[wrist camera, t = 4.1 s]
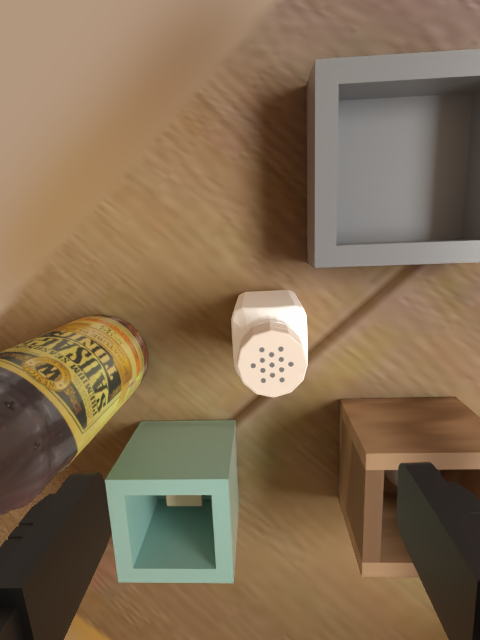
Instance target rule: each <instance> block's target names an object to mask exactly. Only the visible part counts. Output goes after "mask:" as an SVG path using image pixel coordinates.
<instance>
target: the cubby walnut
mask: <svg viewBox="0 0 480 640" xmlns="http://www.w3.org/2000/svg"><path fill="white" fill-rule="evenodd" d="M413 462H431V463H432V464H433V465H434V466H435V467H436V469H437V470H438V471H439V473H440V474H441V475H442V477H443V478H444V479H445V481H446V482H457V483H459V484H460V485H462V486H463V487H464V488H466V489H467V490H469V491H470V492H472V493H473V494H475V495H476V496H477V497H478V499H479V500H480V417H479V416H477V415H476V414H475V413H474V412H473V411H471V410H470V409H469V408H468V407H467V406H466V405H464V404H463V403H462V402H461V401H460V400H458V399H457V398H456V397H423V398H365V399H340V418H339V473H338V499H339V502H340V506H341V509H342V512H343V516H344V519H345V522H346V526H347V529H348V532H349V536H350V539H351V542H352V546H353V549H354V553H355V556H356V559H357V563H358V566H359V569H360V573H361V576H362V577H419V575H418V573H417V571H416V569H415V566H414V564H413V562H412V560H411V558H410V556H409V554H408V552H407V549H406V547H405V545H404V543H403V541H402V538H401V536H400V532H399V528H398V523H397V485H398V467H399V464H400V463H413Z"/></svg>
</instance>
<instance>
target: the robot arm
mask: <svg viewBox="0 0 480 640" xmlns="http://www.w3.org/2000/svg"><path fill="white" fill-rule="evenodd" d="M397 523H398V528H399V532H400V536H401V538H402V541H403V543H404V545H405V547H406V549H407V552H408V554H409V556H410V558H411V560H412V562H413V564H414V566H415V569H416V571H417V573H418V575H419V577H420V579H421V581H422V583H423V586H424V588H425V590H426V592H427V594H428V596H429V598H430V600H431V603H432V605H433V607H434V609H435V611H436V613H437V615H438V617H439V620H440V622H441V624H442V626H443V628H444V630H445V632H446V634H447V637H448V639H449V640H480V500H479V499H478V497H477V496H476V495H475V494H473V493H472V492H470V491H469V490H467V489H466V488H464V487H463V486H462V485H460V484H459V483H457V482H446V481H445V479H444V478H443V477H442V475H441V474H440V473H439V471H438V470H437V469H436V467H435V466H434V465H433V464H432V463H431V462H413V463H400V464H399V467H398V485H397ZM109 536H110V516H109V510H108V504H107V498H106V491H105V485H104V480H103V476H102V474H101V473H75V474H71V475H69V477H68V478H67V479H66V480H65V482H64V483H63V484H62V486H61V487H60V489H59V490H58V491H57V493H56V494H49V495H48V496H46V497H45V498H44V499H42V500H41V501H40V502H38V503H37V504H36V505H34V506H33V507H32V508H31V509H30V510H29V511H28V513H27V514H26V515H25V516H24V518H23V519H22V520H21V522H20V523H19V526H18V527H16V528H15V529H14V530H13V532H12V533H11V534H10V535H9V537H8V540H5V542H4V543H3V544H2V545H1V547H0V640H64V638H65V635H66V633H67V631H68V629H69V627H70V625H71V622H72V620H73V618H74V616H75V614H76V612H77V610H78V607H79V605H80V603H81V601H82V599H83V597H84V595H85V592H86V590H87V588H88V586H89V584H90V582H91V579H92V577H93V575H94V573H95V571H96V569H97V566H98V564H99V562H100V560H101V558H102V556H103V553H104V551H105V549H106V547H107V544H108V541H109Z"/></svg>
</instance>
